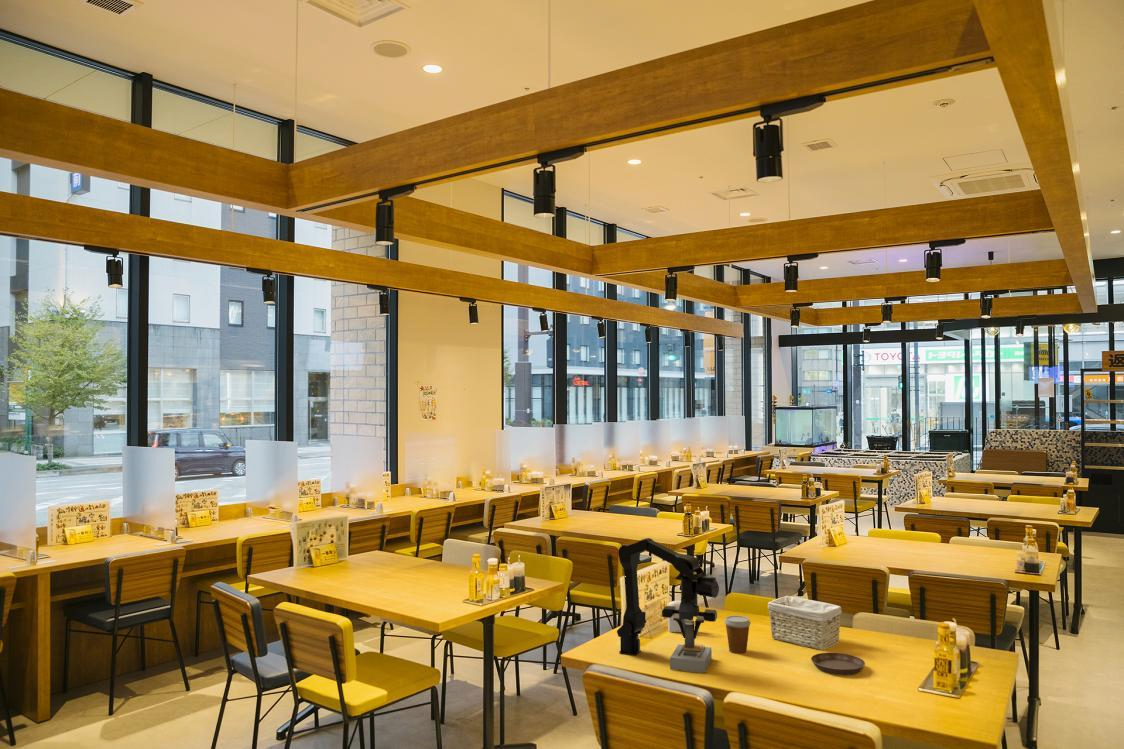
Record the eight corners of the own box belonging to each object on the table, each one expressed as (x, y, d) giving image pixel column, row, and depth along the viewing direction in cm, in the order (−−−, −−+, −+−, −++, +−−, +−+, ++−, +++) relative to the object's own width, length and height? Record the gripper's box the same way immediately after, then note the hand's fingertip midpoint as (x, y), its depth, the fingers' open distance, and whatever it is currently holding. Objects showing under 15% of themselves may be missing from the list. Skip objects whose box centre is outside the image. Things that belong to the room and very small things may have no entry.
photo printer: (668, 632, 304) (668, 601, 305) (667, 629, 308) (667, 599, 309) (694, 633, 304) (693, 602, 304) (692, 630, 308) (692, 599, 309)
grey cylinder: (685, 645, 266) (685, 619, 267) (695, 646, 265) (695, 620, 266) (684, 647, 263) (683, 621, 264) (693, 648, 262) (693, 622, 263)
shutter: (683, 649, 268) (683, 644, 268) (686, 644, 274) (686, 640, 274) (700, 651, 266) (700, 646, 266) (702, 646, 272) (702, 641, 272)
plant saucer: (831, 680, 250) (831, 670, 250) (801, 663, 267) (800, 654, 267) (876, 674, 255) (876, 665, 255) (843, 658, 272) (843, 650, 272)
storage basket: (844, 643, 289) (843, 604, 290) (824, 653, 278) (823, 612, 279) (787, 631, 306) (786, 594, 307) (766, 639, 295) (766, 601, 296)
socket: (670, 669, 260) (669, 655, 261) (678, 655, 275) (678, 642, 276) (704, 673, 256) (704, 659, 257) (711, 658, 271) (711, 645, 272)
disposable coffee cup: (751, 656, 274) (751, 622, 275) (725, 654, 276) (724, 621, 277) (750, 648, 284) (749, 616, 284) (724, 646, 286) (724, 614, 286)
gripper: (658, 596, 261) (658, 642, 260) (712, 600, 255) (713, 647, 254) (664, 589, 271) (665, 633, 270) (717, 593, 265) (717, 638, 264)
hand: (689, 638), depth 264 cm, fingers closed on grey cylinder, 3 cm apart
